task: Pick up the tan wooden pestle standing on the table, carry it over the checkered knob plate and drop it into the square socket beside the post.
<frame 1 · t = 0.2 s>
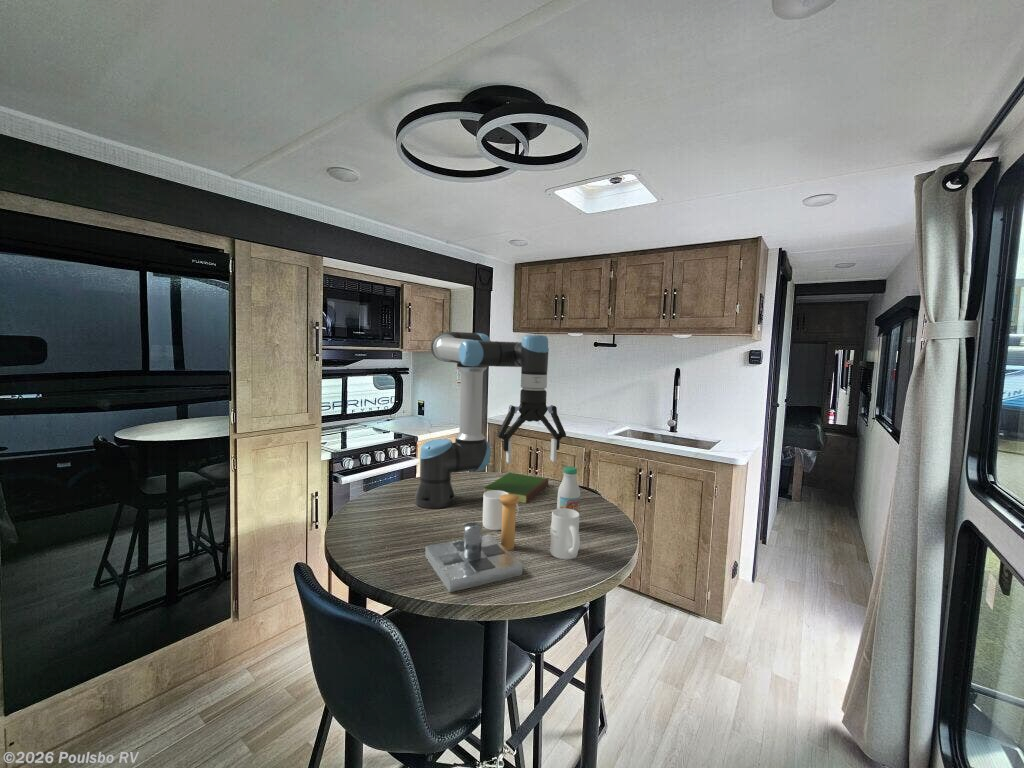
hand: (531, 461, 127), 26 cm above the table, fingers open, 13 cm apart
checkered knob plate: (471, 565, 118), on the table
milk bottle: (567, 526, 147), on the table
mug 2: (566, 556, 126), on the table
mug: (500, 526, 146), on the table
tan wooden pestle: (507, 546, 130), on the table
hardcover book: (517, 492, 183), on the table
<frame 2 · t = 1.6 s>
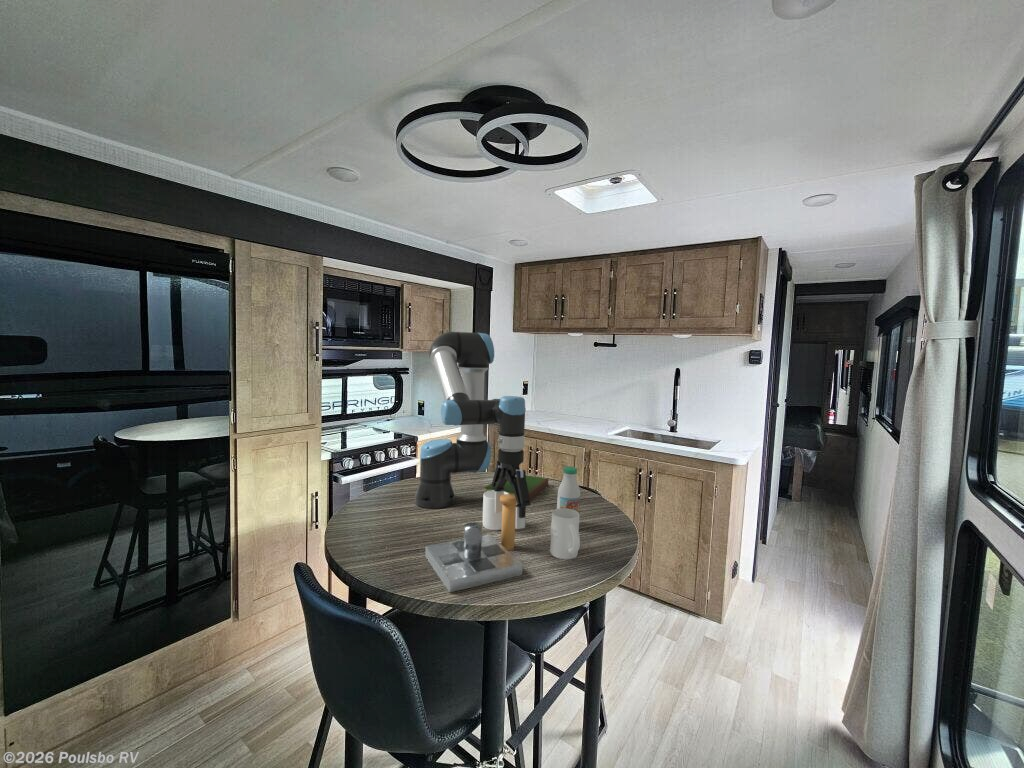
hand: (509, 519, 129), 8 cm above the table, fingers open, 13 cm apart
nothing on the table moved.
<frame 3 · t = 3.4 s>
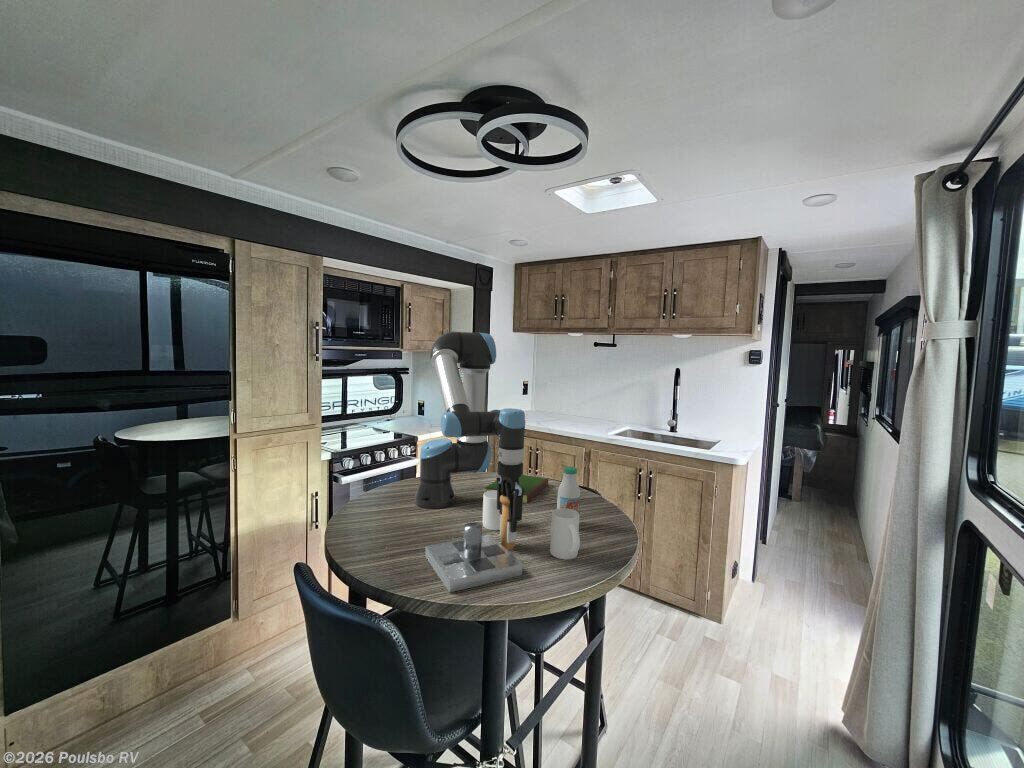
hand: (507, 538, 130), 3 cm above the table, fingers closed on tan wooden pestle, 4 cm apart
tan wooden pestle: (507, 546, 130), on the table, touching gripper
everything else where it was.
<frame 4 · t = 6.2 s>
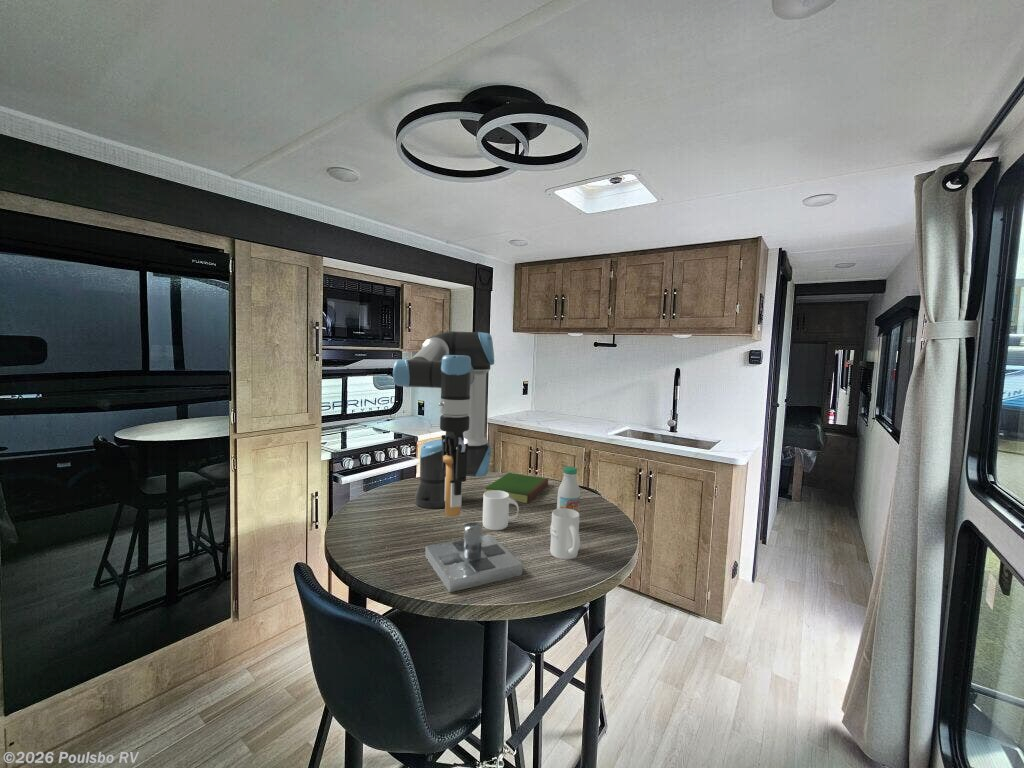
hand: (452, 503, 114), 18 cm above the table, fingers closed on tan wooden pestle, 4 cm apart
tan wooden pestle: (452, 513, 114), point 15 cm above the table, touching gripper
everything else where it was.
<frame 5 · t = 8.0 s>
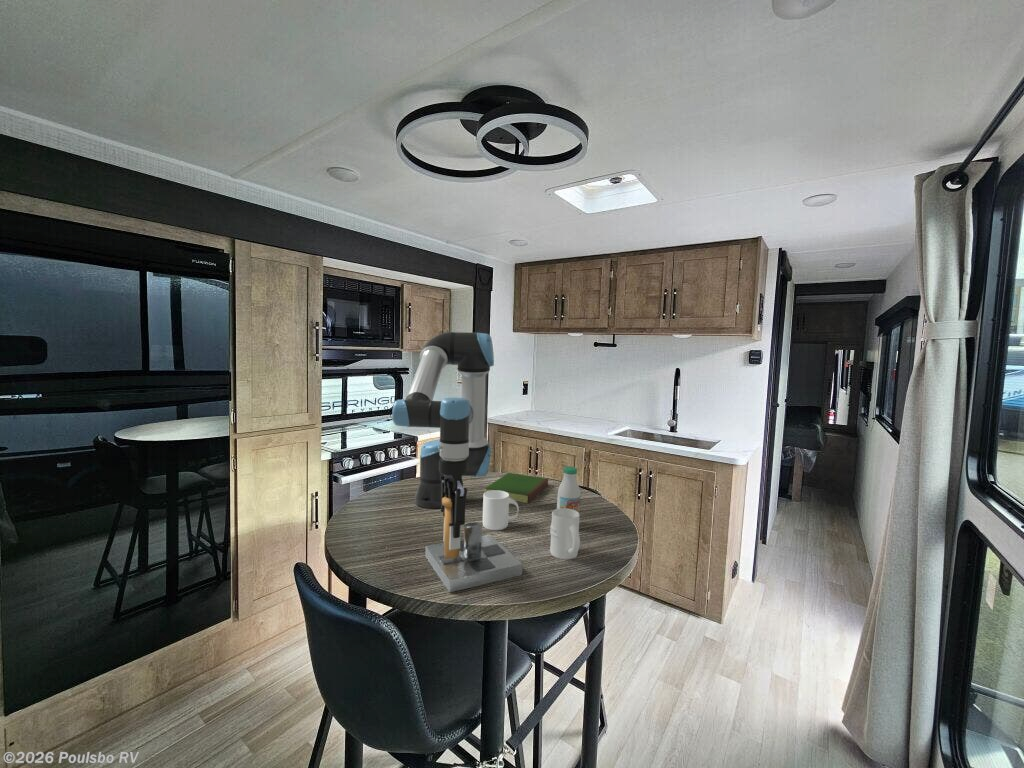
hand: (451, 544, 115), 7 cm above the table, fingers closed on tan wooden pestle, 4 cm apart
tan wooden pestle: (451, 555, 115), point 4 cm above the table, touching gripper
everything else where it was.
when the fingers open (5 cm above the table, at t = 9.2 s): tan wooden pestle drops 2 cm, resting in checkered knob plate.
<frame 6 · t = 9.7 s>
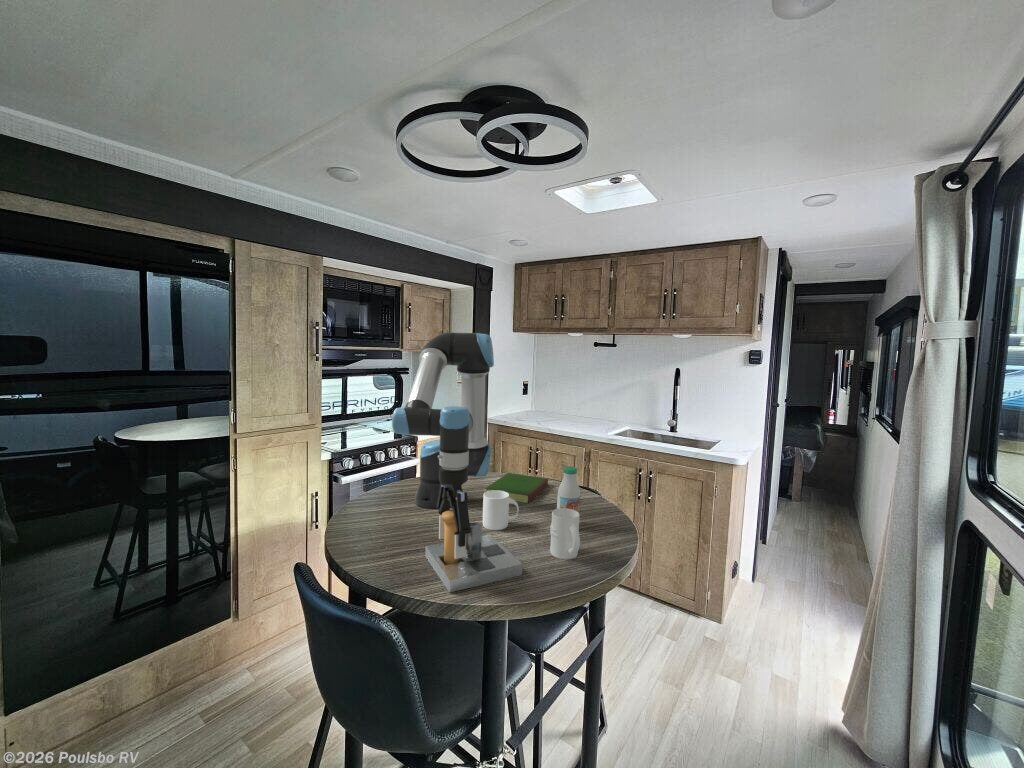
hand: (451, 547, 115), 6 cm above the table, fingers open, 11 cm apart
tan wooden pestle: (451, 569, 115), resting in checkered knob plate
everything else where it was.
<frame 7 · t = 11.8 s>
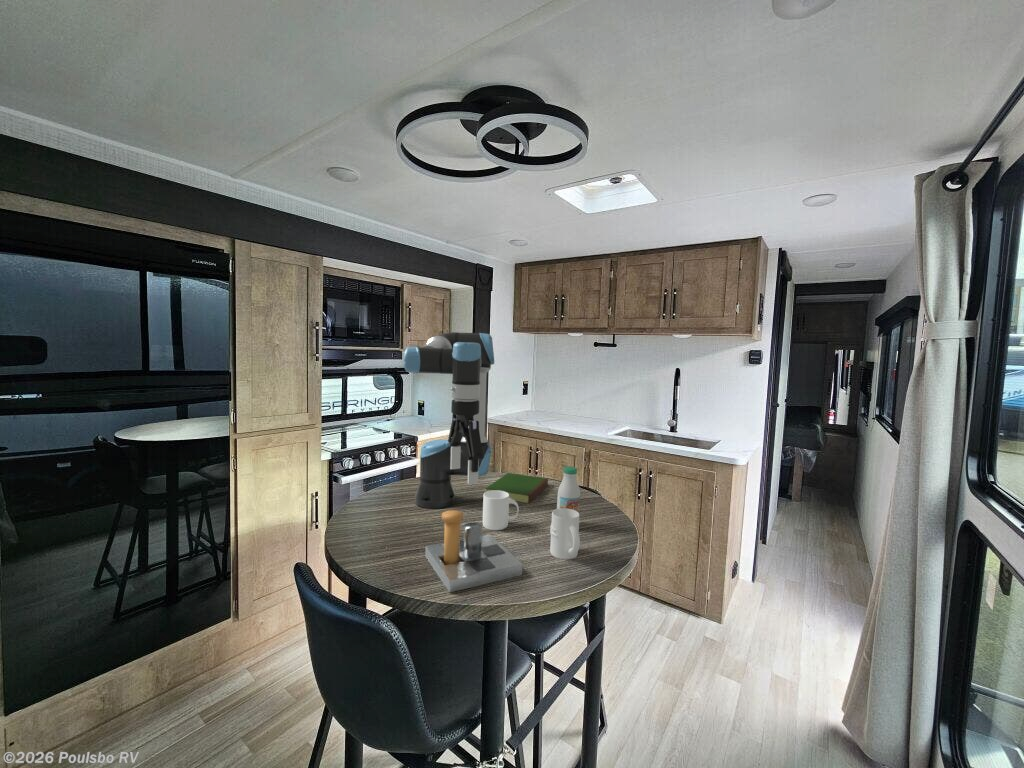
hand: (463, 475, 120), 24 cm above the table, fingers open, 13 cm apart
nothing on the table moved.
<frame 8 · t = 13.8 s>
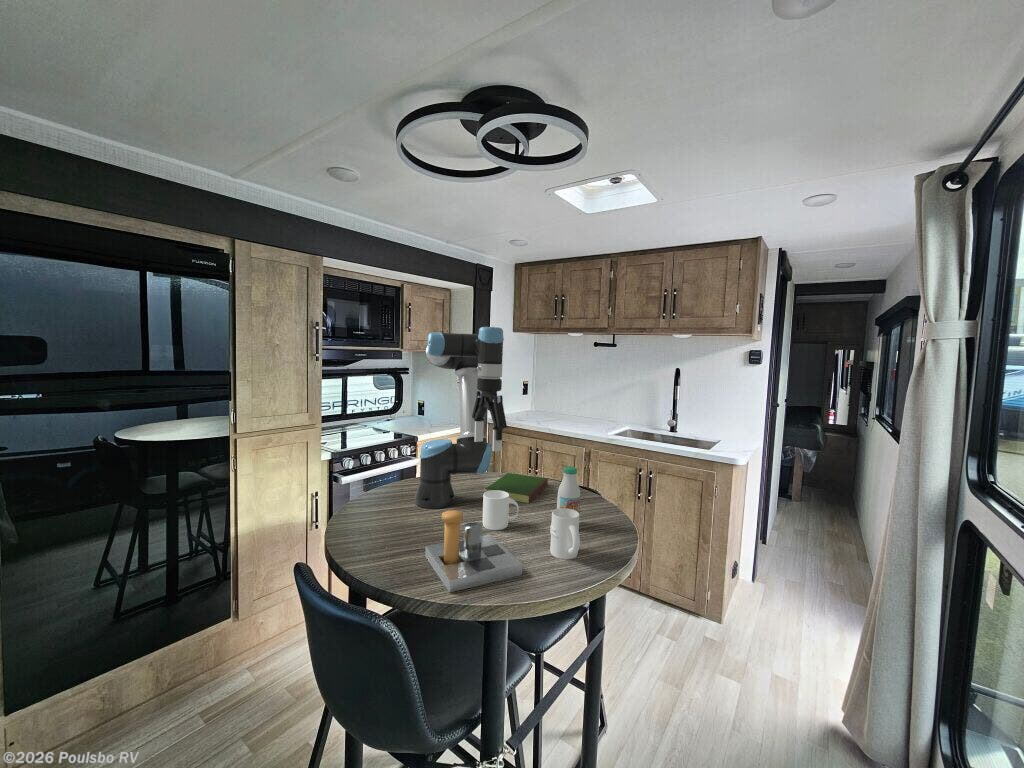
hand: (487, 445, 135), 29 cm above the table, fingers open, 13 cm apart
nothing on the table moved.
at the end: tan wooden pestle 0.0 cm from the target spot on the checkered knob plate, point 0.0 cm above the checkered knob plate's base; tan wooden pestle tilted 0°; the gripper is holding nothing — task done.
